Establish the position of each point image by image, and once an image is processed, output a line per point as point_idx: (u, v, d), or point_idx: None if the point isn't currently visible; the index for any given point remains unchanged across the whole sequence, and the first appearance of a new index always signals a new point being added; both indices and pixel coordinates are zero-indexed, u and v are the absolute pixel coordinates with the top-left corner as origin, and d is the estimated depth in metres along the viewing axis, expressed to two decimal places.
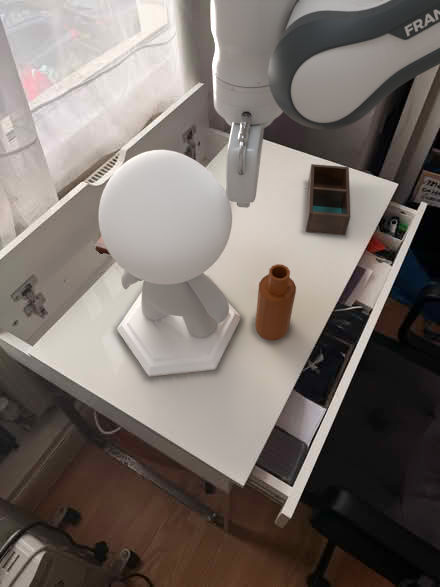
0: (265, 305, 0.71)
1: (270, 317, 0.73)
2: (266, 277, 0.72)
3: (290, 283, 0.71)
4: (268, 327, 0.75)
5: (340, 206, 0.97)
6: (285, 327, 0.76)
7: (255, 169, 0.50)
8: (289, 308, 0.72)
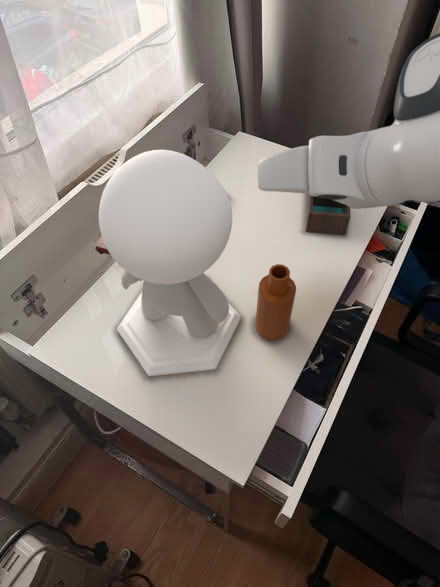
0: (265, 305, 0.71)
1: (270, 317, 0.73)
2: (266, 277, 0.72)
3: (290, 283, 0.71)
4: (268, 327, 0.75)
5: (340, 206, 0.97)
6: (285, 327, 0.76)
7: None
8: (289, 308, 0.72)
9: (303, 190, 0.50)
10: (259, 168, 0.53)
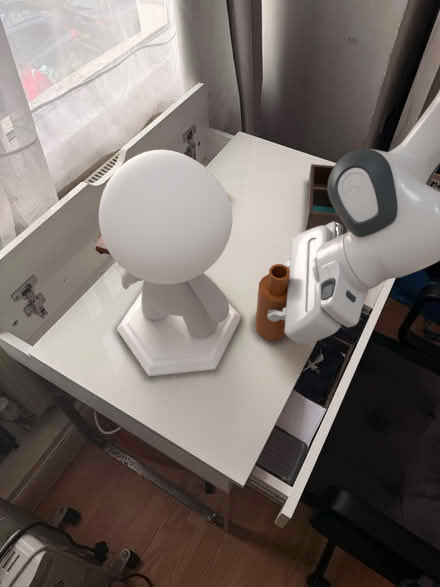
0: (265, 305, 0.71)
1: None
2: (266, 277, 0.72)
3: None
4: (268, 327, 0.75)
5: None
6: None
7: (316, 227, 0.71)
8: None
9: (339, 327, 0.62)
10: (292, 338, 0.63)
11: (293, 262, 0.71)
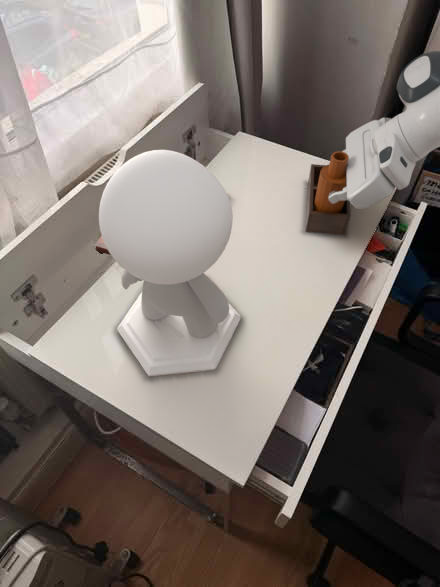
0: (326, 188, 0.86)
1: (328, 200, 0.88)
2: (326, 166, 0.87)
3: None
4: None
5: None
6: None
7: None
8: None
9: (392, 190, 0.77)
10: (354, 201, 0.78)
11: (350, 150, 0.85)
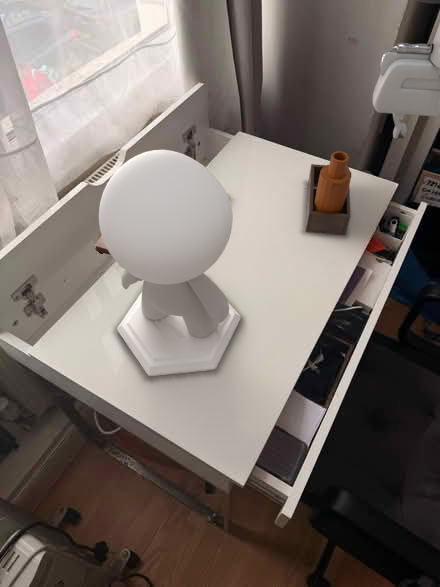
0: (326, 188, 0.86)
1: (328, 200, 0.88)
2: (326, 166, 0.87)
3: (346, 170, 0.86)
4: None
5: None
6: None
7: (386, 77, 0.60)
8: (345, 192, 0.87)
9: None
10: None
11: (418, 109, 0.63)
